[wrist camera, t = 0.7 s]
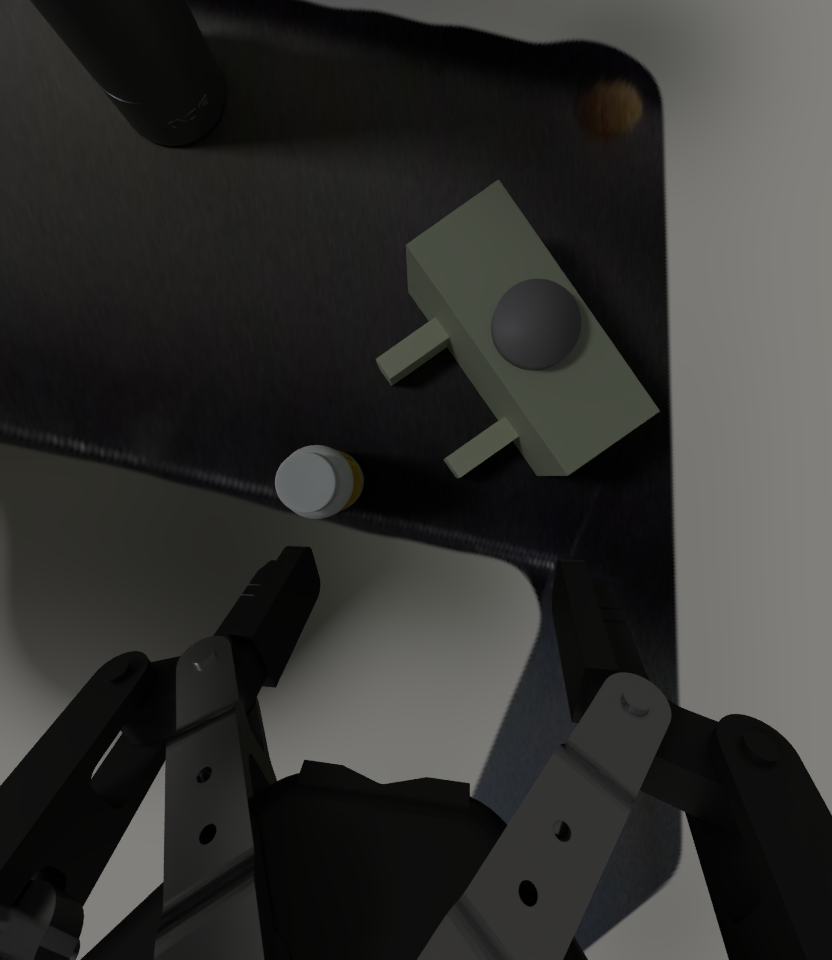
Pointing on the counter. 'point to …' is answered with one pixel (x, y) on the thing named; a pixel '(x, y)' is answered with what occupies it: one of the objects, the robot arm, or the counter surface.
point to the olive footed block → (516, 340)
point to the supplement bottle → (319, 481)
